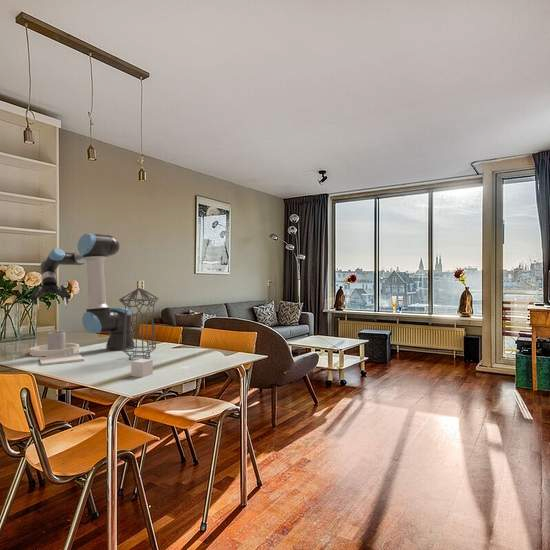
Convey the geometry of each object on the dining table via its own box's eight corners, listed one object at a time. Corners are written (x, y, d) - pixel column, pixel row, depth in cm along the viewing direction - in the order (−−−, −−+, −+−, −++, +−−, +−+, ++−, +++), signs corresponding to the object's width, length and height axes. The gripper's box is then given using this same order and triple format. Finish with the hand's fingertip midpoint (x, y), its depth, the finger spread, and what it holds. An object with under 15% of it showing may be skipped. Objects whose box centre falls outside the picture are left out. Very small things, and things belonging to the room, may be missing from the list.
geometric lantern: (117, 361, 195) (117, 288, 195) (131, 355, 210) (130, 287, 211) (149, 361, 194) (149, 288, 194) (161, 355, 209) (160, 287, 209)
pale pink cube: (131, 376, 166) (130, 361, 166) (141, 373, 172) (141, 358, 172) (142, 377, 164) (142, 362, 164) (152, 374, 169) (152, 359, 169)
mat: (78, 355, 212) (78, 353, 212) (84, 360, 197) (84, 358, 197) (38, 359, 202) (38, 357, 202) (41, 365, 187) (41, 363, 187)
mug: (68, 352, 221) (68, 332, 221) (52, 354, 214) (52, 333, 214) (57, 350, 228) (57, 330, 228) (41, 352, 221) (41, 332, 221)
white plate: (86, 348, 233) (86, 343, 233) (64, 356, 209) (64, 350, 209) (46, 348, 233) (46, 343, 233) (20, 356, 210) (20, 350, 210)
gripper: (71, 285, 251) (75, 310, 239) (24, 285, 237) (26, 313, 225) (73, 276, 247) (77, 302, 234) (25, 276, 233) (26, 304, 220)
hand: (52, 307), depth 230 cm, fingers open, 13 cm apart
